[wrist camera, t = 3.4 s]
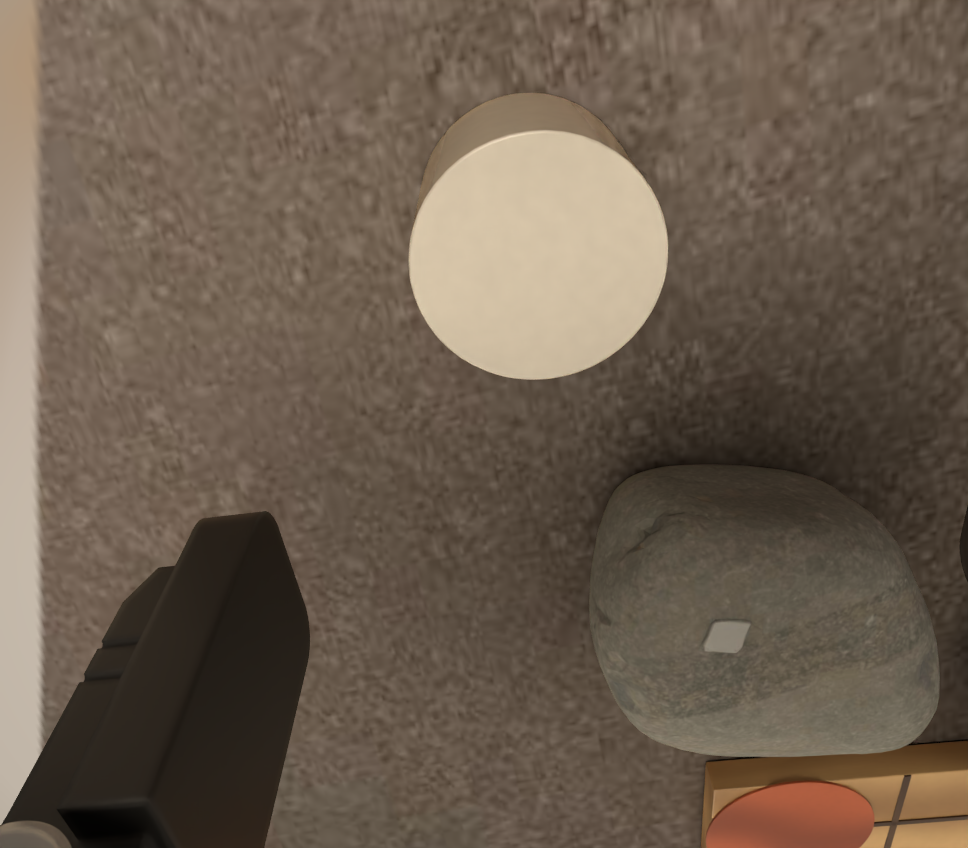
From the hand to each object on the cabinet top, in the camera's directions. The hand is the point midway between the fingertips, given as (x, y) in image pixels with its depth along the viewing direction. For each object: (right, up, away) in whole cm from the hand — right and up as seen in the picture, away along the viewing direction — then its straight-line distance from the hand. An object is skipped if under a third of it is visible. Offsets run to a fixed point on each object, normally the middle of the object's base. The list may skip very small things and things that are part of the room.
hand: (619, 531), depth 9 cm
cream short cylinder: (-1, +6, +9) cm, 11 cm away
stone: (+6, -3, +16) cm, 17 cm away
